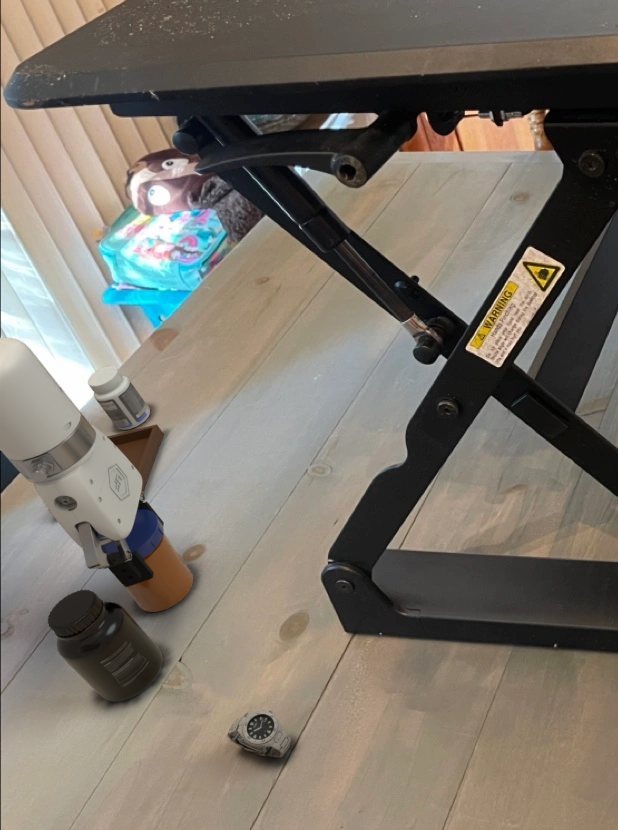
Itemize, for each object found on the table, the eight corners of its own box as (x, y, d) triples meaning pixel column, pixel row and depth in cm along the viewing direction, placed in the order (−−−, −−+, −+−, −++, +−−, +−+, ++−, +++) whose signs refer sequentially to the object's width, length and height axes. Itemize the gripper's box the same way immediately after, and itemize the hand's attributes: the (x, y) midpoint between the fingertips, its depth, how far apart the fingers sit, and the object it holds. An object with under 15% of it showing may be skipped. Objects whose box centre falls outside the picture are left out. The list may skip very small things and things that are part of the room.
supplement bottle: (166, 637, 117) (109, 570, 110) (163, 687, 112) (104, 620, 105) (102, 663, 116) (41, 597, 109) (97, 714, 111) (31, 649, 103)
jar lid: (99, 534, 119) (92, 525, 118) (162, 509, 121) (155, 500, 120) (100, 577, 114) (93, 568, 113) (165, 550, 116) (159, 541, 115)
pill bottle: (146, 402, 152) (115, 358, 147) (155, 417, 149) (124, 373, 143) (112, 420, 150) (80, 377, 145) (121, 436, 147) (88, 392, 141)
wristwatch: (284, 768, 102) (261, 741, 99) (232, 757, 104) (208, 731, 101) (304, 734, 105) (282, 707, 101) (253, 724, 106) (230, 697, 103)
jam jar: (132, 618, 120) (92, 566, 114) (144, 574, 125) (106, 522, 119) (188, 604, 120) (151, 553, 115) (197, 561, 125) (163, 510, 119)
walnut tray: (56, 519, 136) (47, 509, 134) (84, 453, 145) (77, 443, 144) (141, 498, 136) (133, 488, 135) (163, 433, 145) (157, 424, 144)
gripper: (72, 492, 101) (168, 603, 112) (106, 381, 115) (188, 490, 126) (-7, 519, 101) (97, 628, 111) (37, 404, 114) (125, 511, 125)
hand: (145, 554), depth 119 cm, fingers closed on jar lid, 6 cm apart
